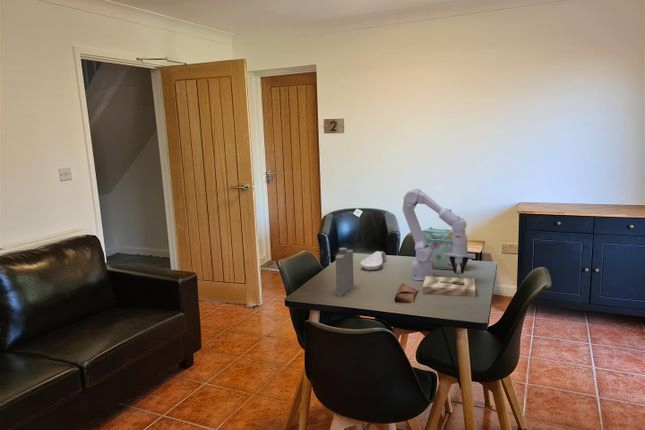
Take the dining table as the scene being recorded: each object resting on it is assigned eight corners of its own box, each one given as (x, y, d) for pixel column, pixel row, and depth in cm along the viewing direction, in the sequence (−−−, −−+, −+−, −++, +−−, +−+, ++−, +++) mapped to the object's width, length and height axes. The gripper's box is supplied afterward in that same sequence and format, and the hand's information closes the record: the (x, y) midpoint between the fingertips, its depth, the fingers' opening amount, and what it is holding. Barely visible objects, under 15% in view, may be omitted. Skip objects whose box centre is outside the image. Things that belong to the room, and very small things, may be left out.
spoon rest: (378, 273, 235) (377, 259, 234) (357, 271, 241) (356, 257, 240) (392, 262, 256) (392, 249, 255) (373, 260, 261) (372, 248, 260)
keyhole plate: (422, 293, 201) (422, 286, 200) (425, 282, 216) (425, 275, 215) (475, 296, 194) (475, 289, 194) (474, 285, 210) (474, 278, 209)
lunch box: (413, 268, 242) (413, 228, 238) (417, 263, 251) (417, 225, 248) (465, 272, 231) (466, 230, 228) (467, 266, 241) (468, 227, 237)
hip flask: (342, 296, 200) (341, 252, 197) (333, 295, 202) (332, 251, 199) (354, 286, 214) (353, 244, 211) (346, 285, 216) (345, 244, 213)
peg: (454, 283, 214) (454, 264, 213) (454, 280, 218) (454, 262, 216) (462, 283, 213) (463, 264, 211) (462, 281, 217) (463, 262, 215)
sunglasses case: (414, 303, 188) (406, 290, 188) (400, 311, 190) (392, 297, 191) (419, 290, 205) (411, 277, 205) (405, 297, 207) (397, 284, 208)
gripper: (442, 245, 211) (442, 274, 213) (475, 246, 207) (475, 275, 209) (443, 242, 218) (443, 270, 220) (475, 243, 213) (474, 271, 215)
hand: (458, 272), depth 215 cm, fingers closed on peg, 3 cm apart
